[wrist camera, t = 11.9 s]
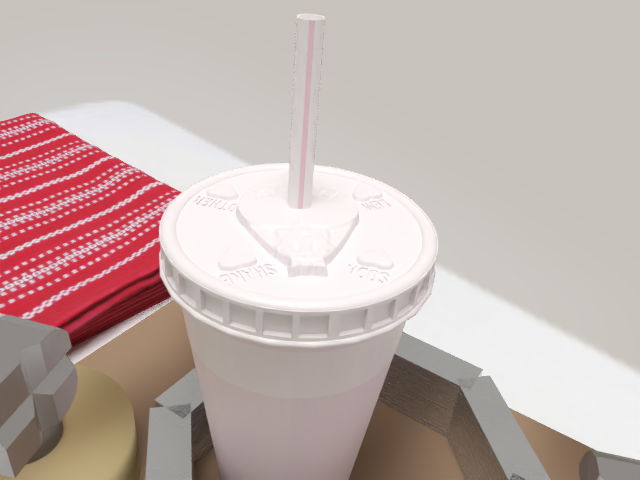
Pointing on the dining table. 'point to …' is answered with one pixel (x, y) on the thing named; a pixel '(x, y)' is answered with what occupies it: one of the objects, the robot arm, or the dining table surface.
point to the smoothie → (294, 296)
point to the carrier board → (132, 439)
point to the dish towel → (75, 231)
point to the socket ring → (397, 392)
